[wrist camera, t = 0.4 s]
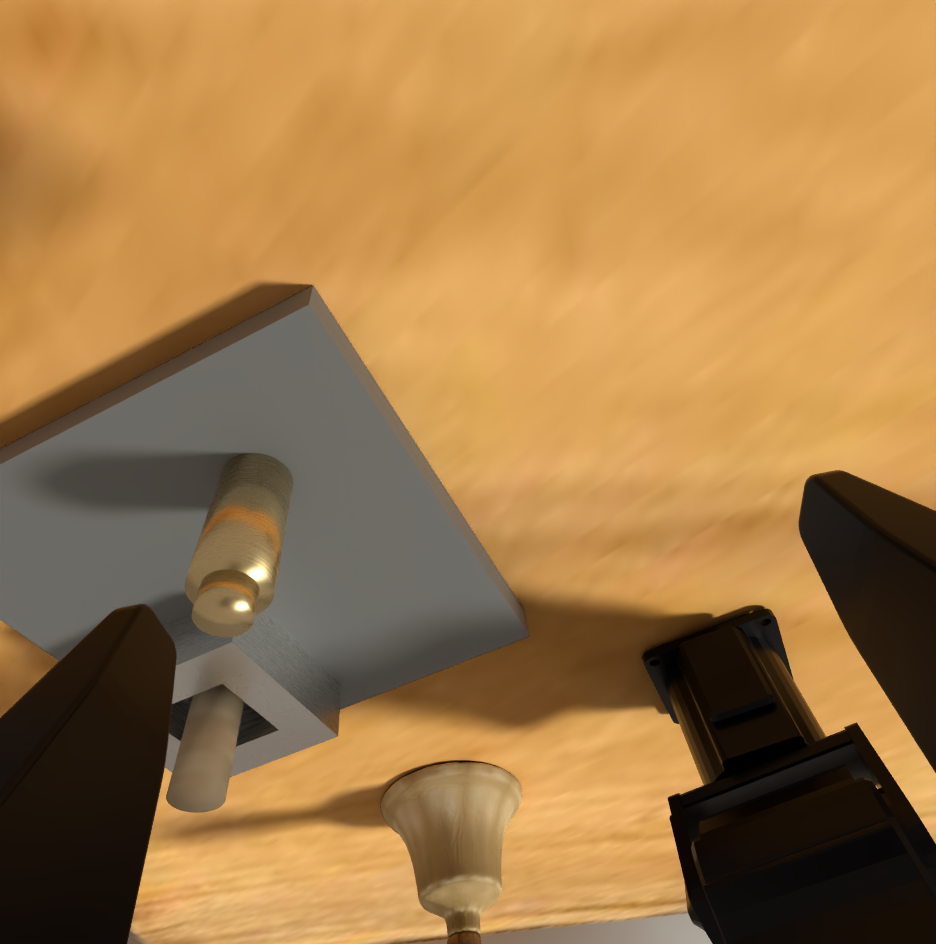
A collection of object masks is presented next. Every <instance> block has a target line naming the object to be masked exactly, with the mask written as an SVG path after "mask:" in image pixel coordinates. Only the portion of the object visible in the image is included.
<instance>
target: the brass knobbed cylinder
mask: <svg viewBox="0 0 936 944" xmlns="http://www.w3.org/2000/svg"><path fill="white" fill-rule="evenodd" d="M293 486H294V484H293V477H292V475H291V473H290V471H289V470H288V468H287V467H286V466H285V465H284V464H283V463H282V462H280V461H279V460H277V459H276V458H274V457H271V456H269V455H265V454H261V453H245V454H241V455H238V456H236V457H234V458H232V459H230V460H229V461H228V462H227V463H226V464H225V465H224V467H223V468H222V471H221V474H220V477H219V480H218V483H217V486H216V489H215V492H214V495H213V498H212V501H211V504H210V507H209V510H208V513H207V516H206V519H205V522H204V525H203V528H202V531H201V534H200V537H199V540H198V543H197V546H196V549H195V552H194V555H193V558H192V562H191V565H190V568H189V571H188V574H187V577H186V580H185V592H186V595H187V597H188V599H189V600H190V601H191V602H192V603H193V604H194V607H193V610H192V615H191V616H192V620H193V622H194V624H195V625H196V626H197V627H198V628H199V629H200V630H202V631H203V632H205V633H207V634H210V635H213V636H218V637H234V636H238V635H241V634H243V633H245V632H247V631H248V630H249V629H250V628H251V627H252V625H253V623H254V619H255V615H257V614H259V613H261V612H262V611H264V610H265V609H266V608H267V607H268V606H269V605H270V604H271V602H272V600H273V598H274V593H275V587H276V581H277V576H278V570H279V565H280V559H281V553H282V548H283V542H284V537H285V531H286V525H287V520H288V514H289V508H290V503H291V497H292V492H293Z"/></svg>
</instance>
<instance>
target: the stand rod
mask: <svg viewBox="0 0 936 944" xmlns="http://www.w3.org/2000/svg"><path fill="white" fill-rule="evenodd" d="M243 705H244V701H243V700H242V699H240V698H239V697H238V696H237V695H235V694H234V693H233V692H232V691H231V690H229V689H228V688H227V687H226V686H224V685H223V684H220V685H218V686H215V687H213V688H211V689H208V690H206V691H203V692H201V693H198V694H196V695H193V697H192V701H191V705H190V709H189V712H188V716H187V720H186V724H185V728H184V731H183V735H182V739H181V743H180V746H179V750H178V754H177V758H176V761H175V765H174V769H173V773H172V776H171V780H170V784H169V788H168V791H167V795H166V799H167V802H168V803H169V804H170V805H171V806H173V807H174V808H176V809H179V810H182V811H186V812H196V813H197V812H208V811H212V810H215V809H217V808H219V807H220V806H222V805H223V804H224V802H225V798H226V793H227V788H228V783H229V778H230V773H231V767H232V762H233V757H234V752H235V747H236V742H237V736H238V731H239V726H240V721H241V716H242V711H243Z"/></svg>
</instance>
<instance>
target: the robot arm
mask: <svg viewBox="0 0 936 944" xmlns="http://www.w3.org/2000/svg"><path fill="white" fill-rule="evenodd" d="M799 531H800V535H801V538H802V540H803V543H804V545H805V547H806V549H807V551H808V553H809V555H810V557H811V559H812V561H813V563H814V565H815V567H816V569H817V571H818V574H819V576H820V578H821V580H822V582H823V584H824V586H825V588H826V590H827V592H828V594H829V596H830V598H831V600H832V602H833V605H834V607H835V609H836V611H837V613H838V615H839V617H840V619H841V621H842V623H843V625H844V627H845V629H846V631H847V632H848V634H849V636H850V638H851V640H852V641H853V643H854V645H855V646H856V648H857V650H858V651H859V653H860V654H861V656H862V658H863V659H864V661H865V662H866V664H867V665H868V667H869V669H870V670H871V672H872V673H873V675H874V677H875V678H876V680H877V681H878V683H879V684H880V686H881V688H882V689H883V691H884V692H885V694H886V695H887V697H888V699H889V700H890V702H891V703H892V705H893V706H894V708H895V710H896V711H897V713H898V714H899V716H900V718H901V719H902V721H903V722H904V724H905V725H906V727H907V729H908V730H909V732H910V733H911V735H912V736H913V738H914V740H915V741H916V743H917V744H918V746H919V747H920V749H921V751H922V752H923V754H924V755H925V757H926V758H927V760H928V762H929V763H930V765H931V766H932V768H933V770H934V771H935V773H936V511H935V510H932V509H930V508H928V507H926V506H923V505H921V504H919V503H916V502H914V501H912V500H909V499H907V498H905V497H903V496H900V495H898V494H896V493H893V492H891V491H889V490H886V489H884V488H882V487H880V486H877V485H875V484H873V483H870V482H868V481H866V480H863V479H861V478H859V477H857V476H854V475H852V474H850V473H847V472H844V471H840V470H836V471H830V472H825V473H820V474H814V475H812V476H810V477H809V478H808V479H807V480H806V482H805V486H804V492H803V498H802V504H801V510H800V516H799ZM176 660H177V653H176V647H175V644H174V641H173V639H172V638H171V636H170V635H169V633H168V632H167V630H166V629H165V627H164V626H163V624H162V623H161V621H160V620H159V618H158V617H157V615H156V614H155V612H154V611H153V610H152V608H151V607H149V606H148V605H146V604H137V605H132V606H126V607H121V608H118V609H115V610H113V611H112V612H111V613H110V614H109V615H107V616H106V617H105V618H104V619H103V620H102V621H101V622H100V623H99V624H98V625H97V626H96V627H95V628H94V629H93V630H92V631H91V632H90V633H89V634H88V635H87V636H86V637H84V638H83V639H82V640H81V641H80V642H79V643H78V644H77V645H76V646H75V647H74V648H73V649H72V650H71V651H70V652H69V653H68V654H67V655H66V656H65V657H64V658H62V659H61V660H60V661H59V662H58V663H57V664H56V665H55V666H54V667H53V668H52V669H51V670H50V671H49V672H48V673H47V674H46V675H45V676H44V677H43V678H42V679H41V680H39V681H38V682H37V683H36V684H35V685H34V686H33V687H32V688H31V689H30V690H29V691H28V692H27V693H26V694H25V695H24V696H23V697H22V698H21V699H20V700H19V701H17V702H16V703H15V704H14V705H13V706H12V707H11V708H10V709H9V710H8V711H7V712H6V713H5V714H4V715H3V716H2V717H1V718H0V944H127V942H128V937H129V932H130V928H131V923H132V919H133V914H134V909H135V905H136V900H137V895H138V891H139V886H140V881H141V877H142V872H143V867H144V863H145V858H146V853H147V849H148V844H149V839H150V835H151V830H152V825H153V821H154V816H155V811H156V807H157V802H158V797H159V793H160V788H161V783H162V778H163V773H164V768H165V763H166V755H167V748H168V739H169V729H170V719H171V709H172V700H173V690H174V680H175V670H176ZM642 660H643V663H644V665H645V668H646V669H647V671H648V673H649V675H650V677H651V679H652V681H653V683H654V685H655V687H656V689H657V691H658V693H659V695H660V697H661V699H662V701H663V703H664V705H665V707H666V708H667V710H668V712H669V714H670V716H671V718H672V720H673V722H674V723H677V724H680V726H681V729H682V731H683V734H684V736H685V739H686V741H687V744H688V746H689V749H690V752H691V754H692V757H693V759H694V762H695V764H696V767H697V769H698V772H699V774H700V777H701V779H702V782H703V784H704V786H701V787H699V788H696V789H694V790H691V791H688V792H686V793H683V794H681V795H680V794H679V793H677V794H675V795H672V796H670V797H668V802H669V806H670V810H671V814H672V815H671V816H670V821H671V825H672V830H673V834H674V838H675V842H676V846H677V851H678V855H679V859H680V863H681V868H682V872H683V876H684V881H685V891H686V901H687V910H688V913H689V916H690V918H691V920H692V922H693V923H694V924H695V925H696V926H698V927H700V928H701V929H703V930H704V931H705V932H706V933H707V935H708V937H709V938H710V940H711V942H712V943H713V944H936V844H935V842H934V840H933V839H932V837H931V836H930V834H929V832H928V831H927V829H926V828H925V826H924V824H923V823H922V821H921V820H920V818H919V816H918V815H917V813H916V812H915V810H914V809H913V807H912V806H911V804H910V803H909V801H908V799H907V798H906V796H905V795H904V793H903V792H902V790H901V789H900V787H899V786H898V784H897V783H896V781H895V780H894V778H893V777H892V775H891V774H890V772H889V771H888V769H887V768H886V766H885V765H884V763H883V762H882V760H881V759H880V757H879V756H878V754H877V753H876V751H875V750H874V748H873V747H872V745H871V744H870V742H869V741H868V739H867V738H866V736H865V735H864V733H863V731H862V730H861V728H860V727H859V725H858V724H857V723H854V724H851V725H849V726H846V727H844V728H845V730H843V731H840V732H838V733H835V734H833V735H830V736H828V737H826V736H825V734H824V732H823V730H822V729H821V727H820V725H819V724H818V722H817V720H816V718H815V717H814V715H813V713H812V712H811V710H810V708H809V706H808V705H807V703H806V701H805V699H804V698H803V696H802V694H801V693H800V691H799V689H798V687H797V686H796V684H795V682H794V681H793V677H792V673H791V669H790V666H789V662H788V659H787V655H786V652H785V648H784V645H783V641H782V637H781V634H780V630H779V627H778V623H777V620H776V617H775V616H774V614H773V613H772V611H771V610H769V609H761V610H758V611H755V612H753V613H750V614H747V615H745V616H742V617H739V618H736V619H734V620H731V621H728V622H726V623H723V624H720V625H717V626H715V627H712V628H709V629H706V630H704V631H701V632H698V633H696V634H693V635H690V636H687V637H685V638H682V639H679V640H677V641H674V642H671V643H668V644H666V645H663V646H660V647H658V648H655V649H652V650H649V651H647V652H646V653H645V654H643V656H642ZM876 786H877V788H878V789H877V788H876Z"/></svg>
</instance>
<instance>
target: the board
mask: <svg viewBox="0 0 936 944" xmlns="http://www.w3.org/2000/svg"><path fill="white" fill-rule="evenodd" d="M245 453H261V454H265V455H269V456H271V457H274V458H276V459H277V460H279V461H280V462H282V463H283V464H284V465H285V466H286V467H287V468H288V470H289V471H290V473H291V475H292V477H293V484H294V486H293V492H292V497H291V503H290V508H289V514H288V520H287V525H286V531H285V537H284V542H283V548H282V553H281V559H280V565H279V570H278V576H277V581H276V587H275V593H274V598H273V600H272V602H271V604H270V605H269V606H268V607H267V608H266V609H265V610H264V611H265V612H266V613H267V614H269V615H270V616H271V617H272V618H273V619H274V620H275V621H276V622H277V623H278V624H279V625H280V626H281V627H282V628H283V629H284V630H285V631H286V632H287V633H288V634H289V635H290V636H291V637H292V638H293V639H294V640H295V641H296V642H297V643H298V644H299V645H300V646H301V647H303V648H304V649H305V650H306V651H307V652H308V653H309V654H310V655H311V656H312V657H313V658H314V659H315V660H316V661H317V662H318V663H319V664H320V665H321V666H322V667H323V668H324V669H325V670H326V671H327V672H328V673H329V674H330V675H331V676H332V677H333V678H334V679H336V680H337V681H338V682H339V683H340V684H341V698H340V709H342V708H345V707H348V706H350V705H353V704H355V703H358V702H360V701H363V700H366V699H368V698H371V697H373V696H376V695H379V694H381V693H384V692H386V691H389V690H392V689H394V688H397V687H399V686H402V685H405V684H407V683H410V682H412V681H415V680H418V679H420V678H423V677H425V676H428V675H431V674H433V673H436V672H438V671H441V670H444V669H446V668H449V667H451V666H454V665H456V664H459V663H462V662H464V661H467V660H469V659H472V658H475V657H477V656H480V655H482V654H485V653H488V652H490V651H493V650H495V649H498V648H501V647H503V646H506V645H508V644H511V643H514V642H516V641H519V640H521V639H524V638H527V637H529V636H530V635H529V631H528V626H527V622H526V617H525V613H524V609H523V608H522V606H521V605H520V603H519V602H518V600H517V599H516V597H515V596H514V594H513V592H512V591H511V589H510V588H509V586H508V585H507V583H506V582H505V580H504V579H503V577H502V576H501V574H500V572H499V571H498V569H497V568H496V566H495V565H494V563H493V562H492V560H491V559H490V557H489V555H488V554H487V552H486V551H485V549H484V548H483V546H482V545H481V543H480V542H479V540H478V539H477V537H476V535H475V534H474V532H473V531H472V529H471V528H470V526H469V525H468V523H467V522H466V520H465V518H464V517H463V515H462V514H461V512H460V511H459V509H458V508H457V506H456V505H455V503H454V502H453V500H452V498H451V497H450V495H449V494H448V492H447V491H446V489H445V488H444V486H443V485H442V483H441V481H440V480H439V478H438V477H437V475H436V474H435V472H434V471H433V469H432V468H431V466H430V465H429V463H428V461H427V460H426V458H425V457H424V455H423V454H422V452H421V451H420V449H419V448H418V446H417V444H416V443H415V441H414V440H413V438H412V437H411V435H410V434H409V432H408V431H407V429H406V428H405V426H404V424H403V423H402V421H401V420H400V418H399V417H398V415H397V414H396V412H395V411H394V409H393V407H392V406H391V404H390V403H389V401H388V400H387V398H386V397H385V395H384V394H383V392H382V391H381V389H380V387H379V386H378V384H377V383H376V381H375V380H374V378H373V377H372V375H371V374H370V372H369V370H368V369H367V367H366V366H365V364H364V363H363V361H362V360H361V358H360V357H359V355H358V354H357V352H356V350H355V349H354V347H353V346H352V344H351V343H350V341H349V340H348V338H347V337H346V335H345V333H344V332H343V330H342V329H341V327H340V326H339V324H338V323H337V321H336V320H335V318H334V317H333V315H332V313H331V312H330V310H329V309H328V307H327V306H326V304H325V303H324V301H323V300H322V298H321V296H320V295H319V293H318V292H317V290H316V289H315V287H314V286H311V287H309V288H307V289H305V290H303V291H301V292H299V293H298V294H296V295H294V296H292V297H290V298H288V299H286V300H284V301H282V302H280V303H278V304H277V305H275V306H273V307H271V308H269V309H267V310H265V311H263V312H261V313H259V314H257V315H256V316H254V317H252V318H250V319H248V320H246V321H244V322H242V323H240V324H238V325H236V326H235V327H233V328H231V329H229V330H227V331H225V332H223V333H221V334H219V335H217V336H215V337H214V338H212V339H210V340H208V341H206V342H204V343H202V344H200V345H198V346H196V347H194V348H192V349H191V350H189V351H187V352H185V353H183V354H181V355H179V356H177V357H175V358H173V359H171V360H170V361H168V362H166V363H164V364H162V365H160V366H158V367H156V368H154V369H152V370H150V371H149V372H147V373H145V374H143V375H141V376H139V377H137V378H135V379H133V380H131V381H129V382H128V383H126V384H124V385H122V386H120V387H118V388H116V389H114V390H112V391H110V392H108V393H107V394H105V395H103V396H101V397H99V398H97V399H95V400H93V401H91V402H89V403H87V404H86V405H84V406H82V407H80V408H78V409H76V410H74V411H72V412H70V413H68V414H66V415H64V416H63V417H61V418H59V419H57V420H55V421H53V422H51V423H49V424H47V425H45V426H43V427H42V428H40V429H38V430H36V431H34V432H32V433H30V434H28V435H26V436H24V437H22V438H21V439H19V440H17V441H15V442H13V443H11V444H9V445H7V446H5V447H3V448H1V449H0V620H1V621H3V622H4V623H6V624H7V625H9V626H10V627H11V628H13V629H14V630H16V631H17V632H19V633H20V634H22V635H23V636H24V637H26V638H27V639H29V640H30V641H32V642H33V643H35V644H36V645H37V646H39V647H40V648H42V649H43V650H45V651H46V652H47V653H49V654H50V655H52V656H53V657H55V658H56V659H58V660H59V661H60V660H61V659H62V658H64V657H65V656H66V655H67V654H68V653H69V652H70V651H71V650H72V649H73V648H74V647H75V646H76V645H77V644H78V643H79V642H80V641H81V640H82V639H83V638H84V637H86V636H87V635H88V634H89V633H90V632H91V631H92V630H93V629H94V628H95V627H96V626H97V625H98V624H99V623H100V622H101V621H102V620H103V619H104V618H105V617H106V616H107V615H109V614H110V613H111V612H112V611H113V610H115V609H118V608H121V607H126V606H132V605H137V604H146V605H148V606H149V607H151V608H152V610H153V611H154V612H155V614H156V615H157V617H158V618H159V620H160V621H161V623H162V624H163V625H165V624H168V623H170V622H172V621H174V620H177V619H179V618H181V617H184V616H186V615H188V614H191V613H192V610H193V607H194V604H193V603H192V602H191V601H190V600H189V599H188V597H187V595H186V592H185V580H186V577H187V574H188V571H189V568H190V565H191V562H192V558H193V555H194V552H195V549H196V546H197V543H198V540H199V537H200V534H201V531H202V528H203V525H204V522H205V519H206V516H207V513H208V510H209V507H210V504H211V501H212V498H213V495H214V492H215V489H216V486H217V483H218V480H219V477H220V474H221V471H222V468H223V467H224V465H225V464H226V463H227V462H228V461H229V460H230V459H232V458H234V457H236V456H238V455H241V454H245Z"/></svg>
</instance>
